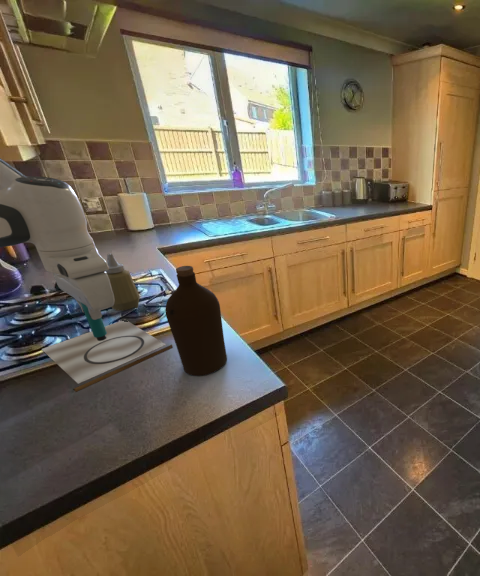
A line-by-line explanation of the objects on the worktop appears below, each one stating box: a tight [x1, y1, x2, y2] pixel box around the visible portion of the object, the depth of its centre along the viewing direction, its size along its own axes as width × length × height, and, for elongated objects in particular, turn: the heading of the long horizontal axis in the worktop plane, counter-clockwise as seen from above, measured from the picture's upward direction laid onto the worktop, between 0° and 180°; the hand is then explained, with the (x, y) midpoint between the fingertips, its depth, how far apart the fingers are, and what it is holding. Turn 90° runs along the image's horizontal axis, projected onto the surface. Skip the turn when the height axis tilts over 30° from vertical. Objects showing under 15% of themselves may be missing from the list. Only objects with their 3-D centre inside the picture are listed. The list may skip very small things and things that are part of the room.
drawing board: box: [41, 320, 174, 393], centre depth 83 cm, size 24×20×1 cm
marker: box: [81, 303, 107, 341], centre depth 75 cm, size 2×2×12 cm
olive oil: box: [165, 265, 228, 377], centre depth 74 cm, size 11×11×25 cm
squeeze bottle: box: [105, 252, 141, 312], centre depth 99 cm, size 8×8×18 cm
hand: (93, 315), depth 75 cm, fingers closed on marker, 2 cm apart
